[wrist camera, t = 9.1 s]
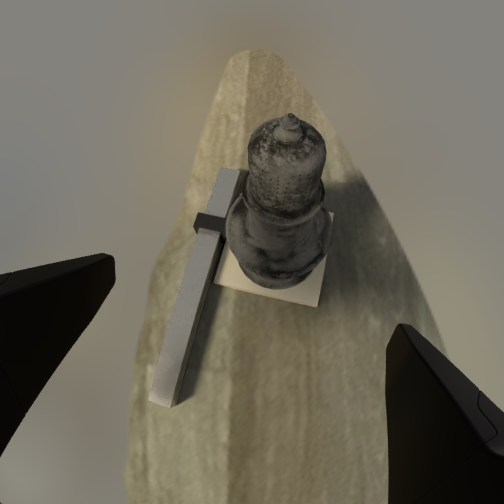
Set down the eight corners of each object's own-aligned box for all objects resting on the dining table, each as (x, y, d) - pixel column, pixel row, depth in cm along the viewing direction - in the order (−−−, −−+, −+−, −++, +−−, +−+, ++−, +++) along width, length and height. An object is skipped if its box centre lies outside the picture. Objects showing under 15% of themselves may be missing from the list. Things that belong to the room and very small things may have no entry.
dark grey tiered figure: (320, 297, 19) (391, 202, 8) (226, 290, 20) (179, 185, 9) (322, 212, 21) (367, 72, 10) (236, 206, 22) (214, 60, 11)
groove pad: (316, 307, 20) (317, 306, 19) (214, 284, 20) (213, 282, 20) (332, 215, 22) (333, 212, 21) (240, 196, 23) (240, 193, 22)
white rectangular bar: (179, 406, 18) (171, 410, 16) (152, 397, 18) (141, 399, 16) (244, 182, 23) (243, 166, 21) (219, 177, 23) (216, 162, 21)
